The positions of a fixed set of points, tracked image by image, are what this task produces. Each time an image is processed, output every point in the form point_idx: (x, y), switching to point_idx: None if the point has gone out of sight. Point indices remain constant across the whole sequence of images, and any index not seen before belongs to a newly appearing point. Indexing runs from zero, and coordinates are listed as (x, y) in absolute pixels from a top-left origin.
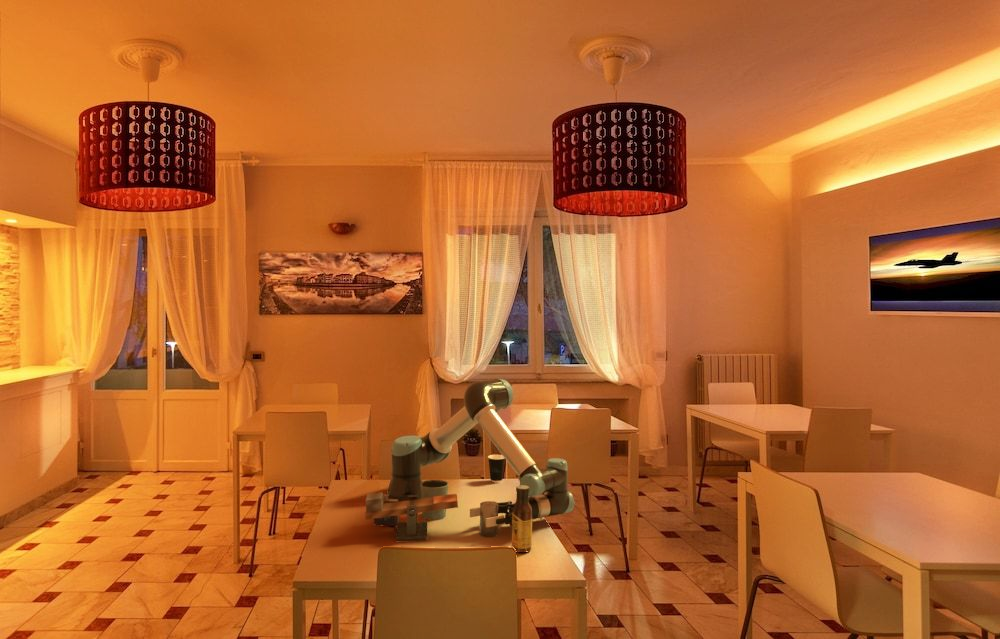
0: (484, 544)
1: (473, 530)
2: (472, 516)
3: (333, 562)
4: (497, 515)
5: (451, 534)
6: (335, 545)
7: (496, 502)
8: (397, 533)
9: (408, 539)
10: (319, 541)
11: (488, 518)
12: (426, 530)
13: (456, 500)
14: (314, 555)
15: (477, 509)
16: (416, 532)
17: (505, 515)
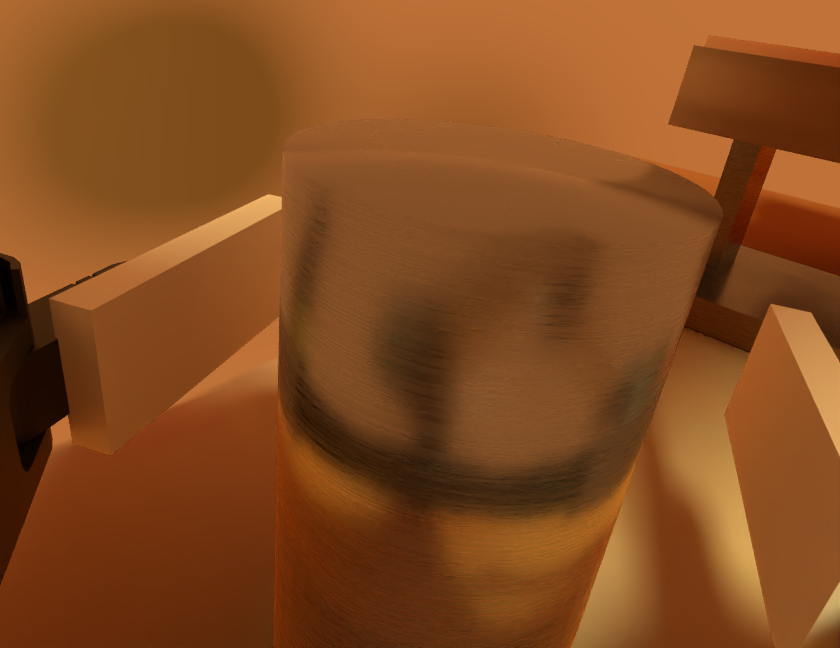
0: (249, 400)
1: (673, 606)
2: (733, 424)
3: None
4: (282, 394)
5: (669, 421)
6: (767, 206)
7: (465, 226)
8: (769, 256)
9: None
10: (835, 209)
11: (261, 204)
12: (757, 317)
13: (710, 37)
14: (696, 174)
15: (787, 383)
16: (743, 286)
17: (6, 272)
